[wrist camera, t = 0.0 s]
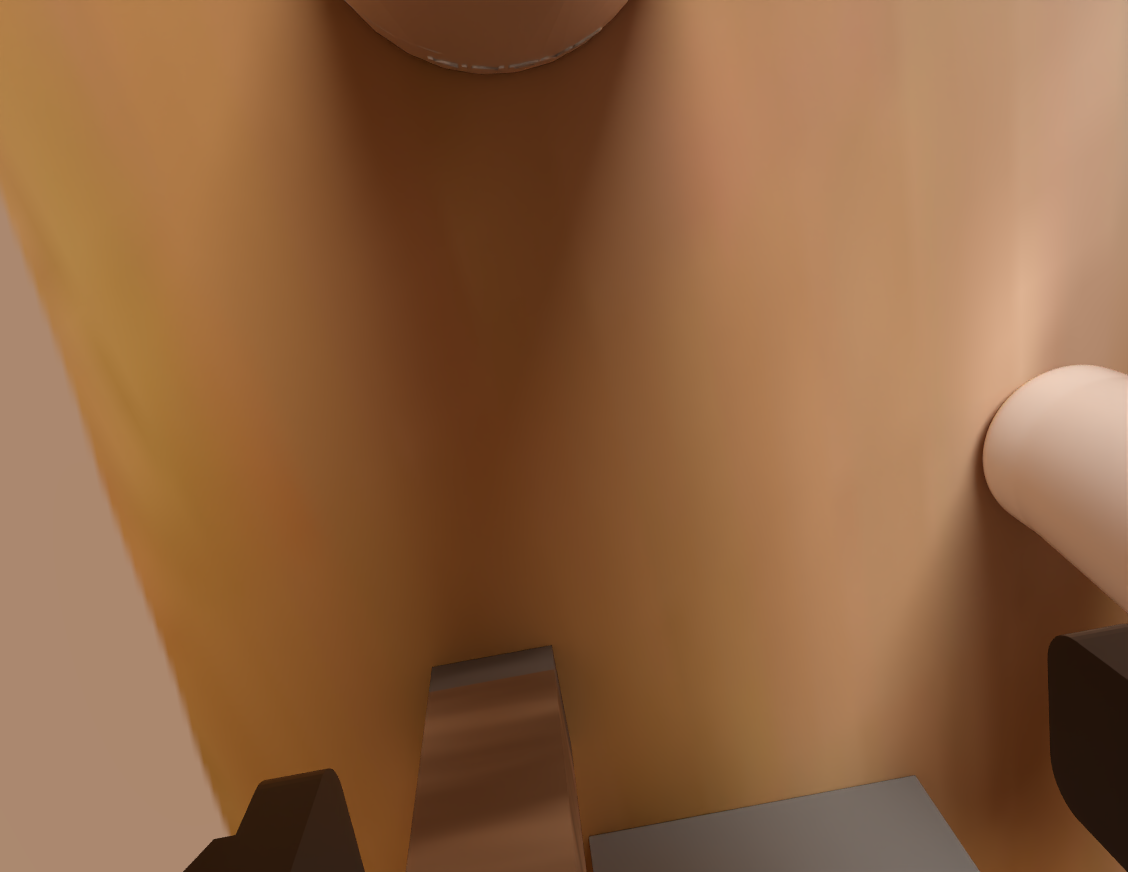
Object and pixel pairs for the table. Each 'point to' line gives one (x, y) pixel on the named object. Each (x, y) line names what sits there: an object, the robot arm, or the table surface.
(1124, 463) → the drinking glass
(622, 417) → the table surface
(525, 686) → the tall brown pillar
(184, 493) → the table surface
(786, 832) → the box
